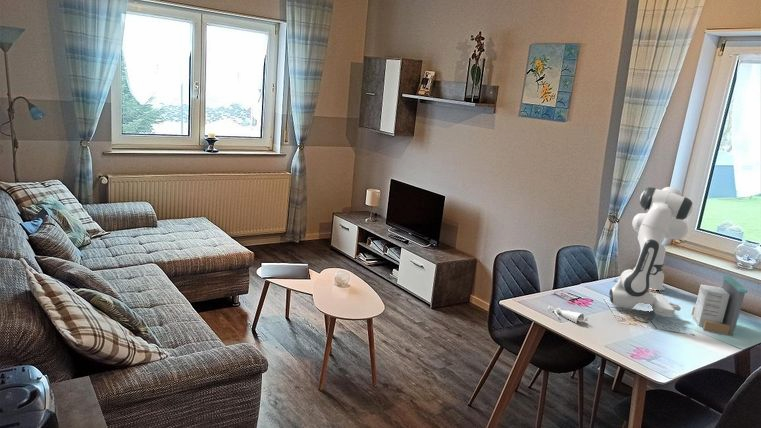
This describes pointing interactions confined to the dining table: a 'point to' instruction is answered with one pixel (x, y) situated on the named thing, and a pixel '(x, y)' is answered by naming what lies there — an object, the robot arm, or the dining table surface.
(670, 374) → the dining table surface
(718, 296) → the supplement box
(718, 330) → the display stand
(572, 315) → the woman figurine
